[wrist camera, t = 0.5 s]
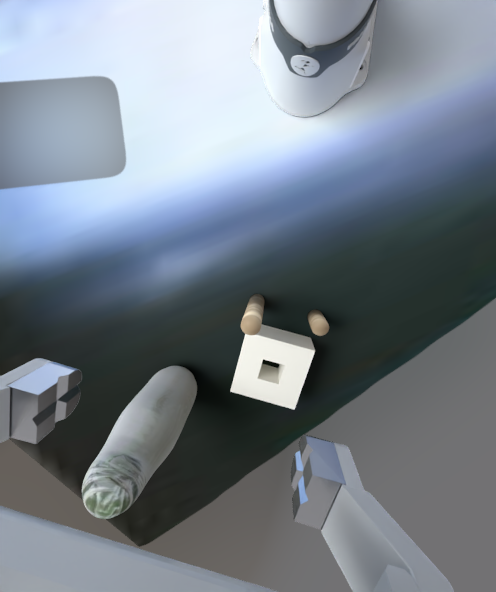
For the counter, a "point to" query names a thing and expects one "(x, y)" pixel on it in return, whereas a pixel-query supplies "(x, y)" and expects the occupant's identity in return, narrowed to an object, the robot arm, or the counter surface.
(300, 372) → the hole block
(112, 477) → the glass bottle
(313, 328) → the short pin
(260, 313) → the long pin
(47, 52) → the counter surface
